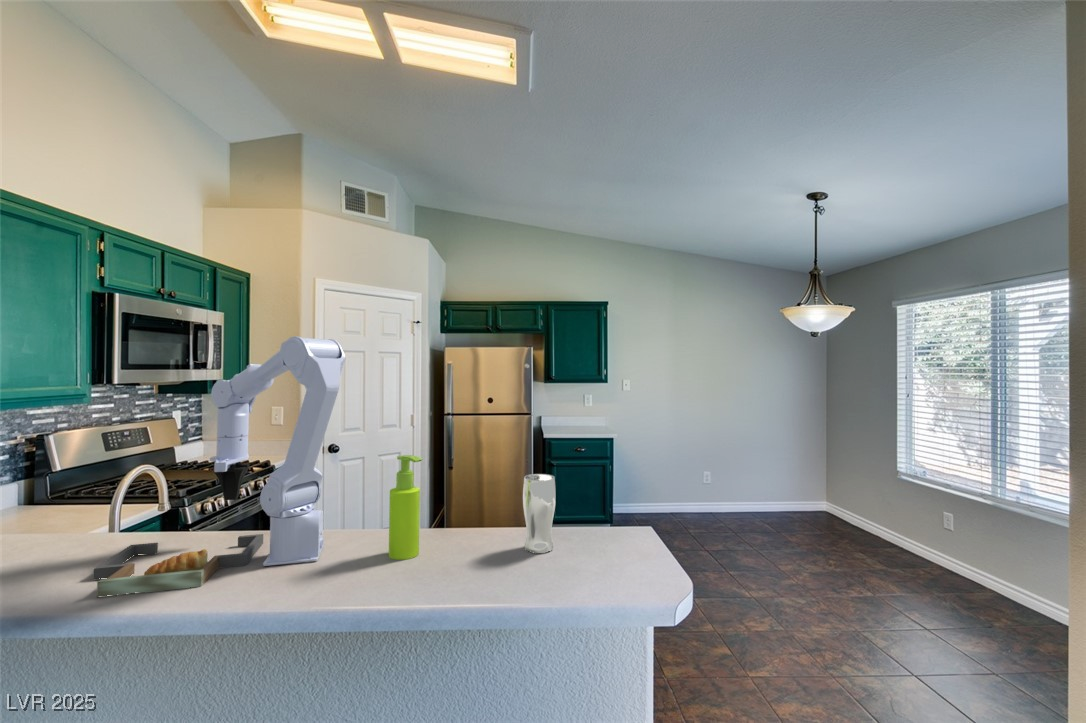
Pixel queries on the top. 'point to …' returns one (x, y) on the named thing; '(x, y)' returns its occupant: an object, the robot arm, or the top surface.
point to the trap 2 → (242, 558)
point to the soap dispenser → (404, 513)
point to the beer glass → (539, 511)
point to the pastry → (181, 563)
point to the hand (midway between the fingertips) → (231, 499)
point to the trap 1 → (123, 559)
